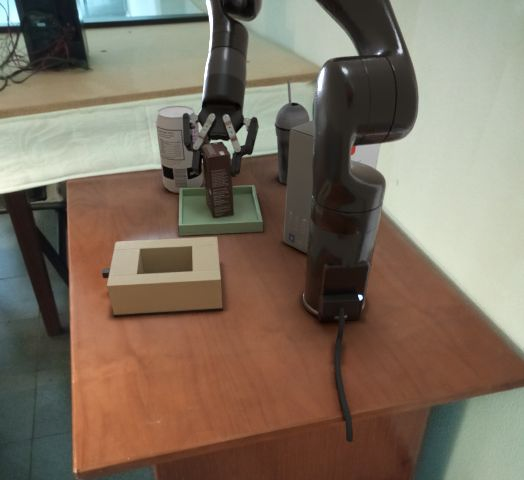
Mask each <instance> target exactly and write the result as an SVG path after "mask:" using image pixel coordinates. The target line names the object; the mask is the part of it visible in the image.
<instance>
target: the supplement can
mask: <svg viewBox="0 0 524 480" xmlns="http://www.w3.org/2000/svg"><path fill="white" fill-rule="evenodd" d="M184 113H188V114H189V116H192V115H196V112H195V109H194V108H192V107H190V106H186V105H171V106H170V105H169V106H165V107H161V108H159V109H158V110H157V114H156V117H155V119H154V122H155V130H156V137H157V145H158V151H159V160H160V167H161V174H162V175H161V176H162V182H163V186H164V188H166V189H167V190H168V191H169V192H171V193H174V194H179V190H180V188H198V187H202V185H203V183H204V180H203V179H204V177H203V166H202V167H201V175H196V173H195V171H194V170H193V168H192V157H193V152H192V151H188V150H187V149H186V147H185V145H184V142H183V114H184ZM192 130H193V143H195V141H196V140H197V138H198V134H199V132H200V127H199V122H198V123H197V124H196V127H195V128H194V129H192Z"/></svg>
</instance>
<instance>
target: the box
mask: <svg viewBox="0 0 524 480" xmlns="http://www.w3.org/2000/svg"><path fill="white" fill-rule="evenodd" d="M201 148H202V171H203V179H204V180H203V182H204V187H205V192H206V202H207V206H208V207H209V210H210V211H211V214H212V216H213V218H219V217H227V216H232V215H234V206H233V188H232V186H233V177H232V175H231V164H232V156H231V153H230V152H229V150H228V147H227V146H226V145H225V144H224V141H217V142H216V141H214V142H210V143H207V144H202V146H201Z"/></svg>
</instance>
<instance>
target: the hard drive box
mask: <svg viewBox="0 0 524 480" xmlns="http://www.w3.org/2000/svg"><path fill="white" fill-rule="evenodd" d="M313 136H314V119H312V120H310V121H309V122H307V123H304V124H301V125H298V126H296V127H293V128H291V130H290V139H289V159H288V176H287V184H286V192H285V193H286V194H285V207H284V208H285V211H284V225H283V239H282V240H283V241H282V242H283V243H284V244H286V245H288V246H291V247H293V248H294V249H296V250H299V251H300V252H301V253H305V254H306V255H307V249H308V237H309V224H310V214H311V201H312V189H313V173H312V157H313ZM381 144H382V143H381ZM381 144H372V145H362V146H352V148H351V160H353V161H356V162H360V163H363V164H366V165H369V166H371V167H373V168H375V169H376V170H377V167H378V161H379V155H380V149H381Z"/></svg>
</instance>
